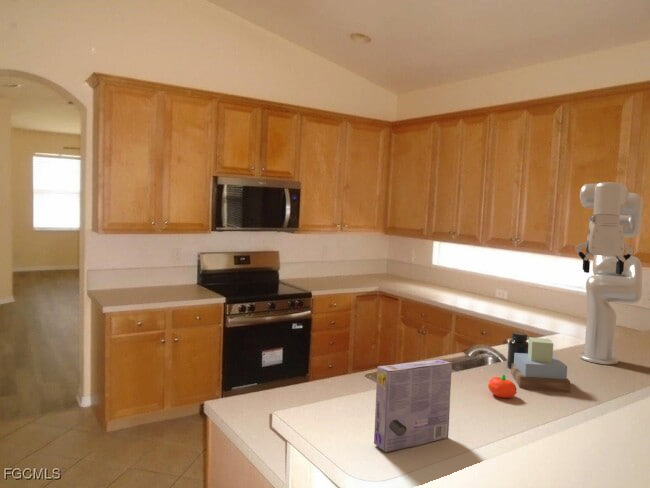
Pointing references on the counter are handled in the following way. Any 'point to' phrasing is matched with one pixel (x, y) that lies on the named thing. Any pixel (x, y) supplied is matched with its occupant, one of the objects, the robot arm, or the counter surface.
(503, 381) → the pumpkin
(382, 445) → the cake pan box
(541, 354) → the sage block
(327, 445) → the counter surface
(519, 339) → the supplement bottle
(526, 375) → the slate top block
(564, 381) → the walnut base block
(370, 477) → the counter surface
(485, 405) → the counter surface
